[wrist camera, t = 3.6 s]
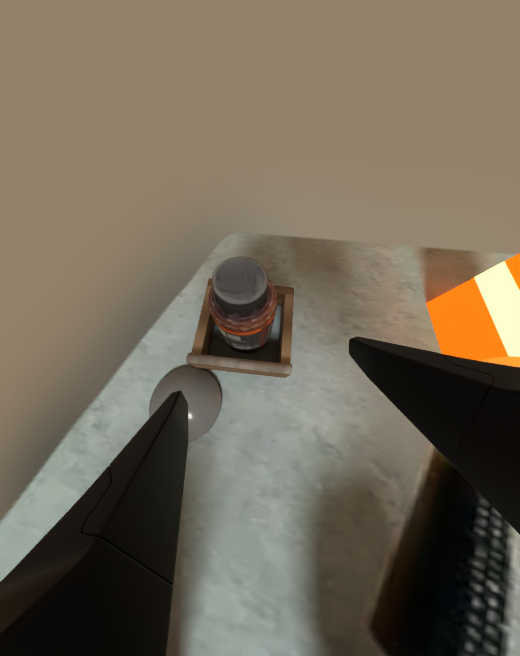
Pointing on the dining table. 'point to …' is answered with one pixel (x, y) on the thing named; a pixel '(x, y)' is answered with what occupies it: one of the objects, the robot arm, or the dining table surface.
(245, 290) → the supplement bottle
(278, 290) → the holder
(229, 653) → the dining table surface
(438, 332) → the orange juice
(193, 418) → the coaster
